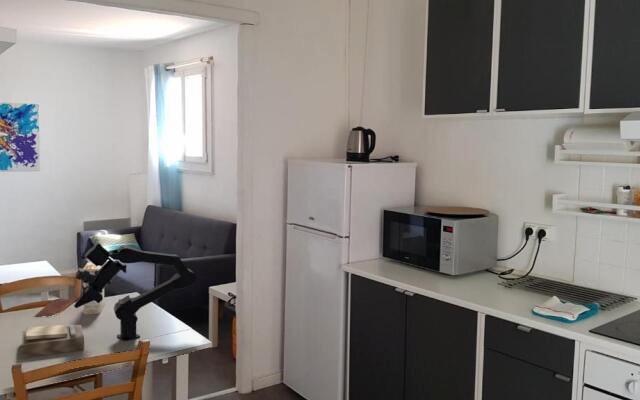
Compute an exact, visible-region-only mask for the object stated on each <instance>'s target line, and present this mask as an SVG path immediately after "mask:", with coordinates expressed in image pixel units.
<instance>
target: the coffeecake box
mask: <svg viewBox="0 0 640 400" xmlns="http://www.w3.org/2000/svg"><path fill="white" fill-rule="evenodd" d="M104 265H105V264H103V265H102V266H95V265H94V264H93V263H92V262H90V261H88V262H86V264H85V266H84V267H83V269H85V270H88V271H91V272H93V273H94V272H95V271H96V270H98V271H99V270H100V269H101V268H102V267H103V266H104ZM82 285H83V286H85V285H86V283H83V282H82ZM102 296H103V300H102V301H101V302H100V303H97V302H96V301H95V300H94V301H91V302H89V303H87V304H84V305H83V315H95V314H96V315H97V314H99V315H100V314H101V313H102V310H103V308H104V306H105V288H104V289H103V292H102Z"/></svg>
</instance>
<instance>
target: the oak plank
mask: <svg viewBox="0 0 640 400" xmlns="http://www.w3.org/2000/svg"><path fill="white" fill-rule="evenodd" d="M66 326H67V324H61V325H45V326H44V325H43V326H42V325H41V326H30V327H29V326H28V327H26V328H25V329H26V330H25V331H26V340H28V339H42V338H57V337H67V328H66Z"/></svg>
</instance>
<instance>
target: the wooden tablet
mask: <svg viewBox="0 0 640 400" xmlns="http://www.w3.org/2000/svg"><path fill="white" fill-rule="evenodd" d="M76 301H77V298H75V297H74V298H69V299H65V298H55V299H53V300H52V301H50V302H49V303H48V304H46V305H45V306H44V307H43V308H42V309H41V310H39V311H38V312H37V313H36V314H35V315H34V317H35V318H43V317H42V316H52V315H55V314H57V313H60V312H61V311H62V312H64V310H66V309H67V308H68V307H70V306H71V305H73V304H74V303H76ZM62 312H61V313H62ZM61 313H60V314H61Z"/></svg>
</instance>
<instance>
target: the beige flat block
mask: <svg viewBox="0 0 640 400" xmlns="http://www.w3.org/2000/svg"><path fill="white" fill-rule="evenodd" d="M82 327H83V326H82V324H77V325H75V324H74V323H72V324H69V325H66V328H67V337H57V338H42V339H28V340H26V330H23V331H22V332H21V333H22V334H21V359H23V358H29V357H30V358H31V357H39V356H47V355H53V354H61V353H69V352H70V351H71V352H77V350H78V351H84V350H85V336H84V331H83V328H82ZM71 352H70V353H71Z"/></svg>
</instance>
